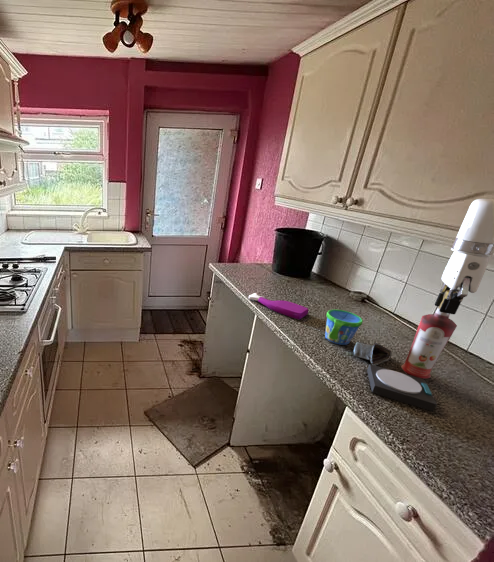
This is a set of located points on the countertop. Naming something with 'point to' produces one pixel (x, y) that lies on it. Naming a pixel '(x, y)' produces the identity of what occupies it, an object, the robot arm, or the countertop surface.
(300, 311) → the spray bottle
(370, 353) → the grey open container
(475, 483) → the countertop surface
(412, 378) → the scale
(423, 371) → the liquor
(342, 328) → the snack cup
